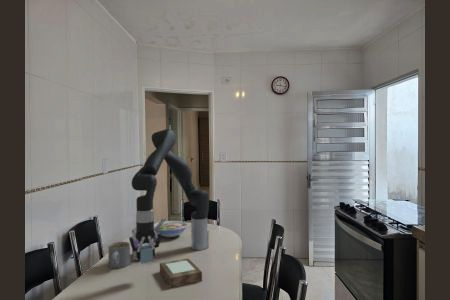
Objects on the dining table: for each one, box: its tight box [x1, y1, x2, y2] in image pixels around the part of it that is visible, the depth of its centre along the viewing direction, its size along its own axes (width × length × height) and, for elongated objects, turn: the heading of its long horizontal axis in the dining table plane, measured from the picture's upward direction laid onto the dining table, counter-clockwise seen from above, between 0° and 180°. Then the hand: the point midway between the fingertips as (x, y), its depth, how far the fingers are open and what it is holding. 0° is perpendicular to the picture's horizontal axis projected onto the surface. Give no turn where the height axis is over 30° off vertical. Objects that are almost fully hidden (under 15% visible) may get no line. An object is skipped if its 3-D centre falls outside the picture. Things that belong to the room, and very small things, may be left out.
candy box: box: [131, 227, 155, 262], centre depth 164 cm, size 14×6×16 cm, turn 168°
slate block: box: [138, 245, 154, 264], centre depth 134 cm, size 5×5×6 cm
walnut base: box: [159, 258, 203, 288], centre depth 138 cm, size 14×18×4 cm
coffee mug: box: [108, 241, 131, 270], centre depth 150 cm, size 13×10×10 cm
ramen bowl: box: [154, 218, 188, 239], centre depth 201 cm, size 25×23×8 cm
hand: (145, 258), depth 134 cm, fingers closed on slate block, 5 cm apart
